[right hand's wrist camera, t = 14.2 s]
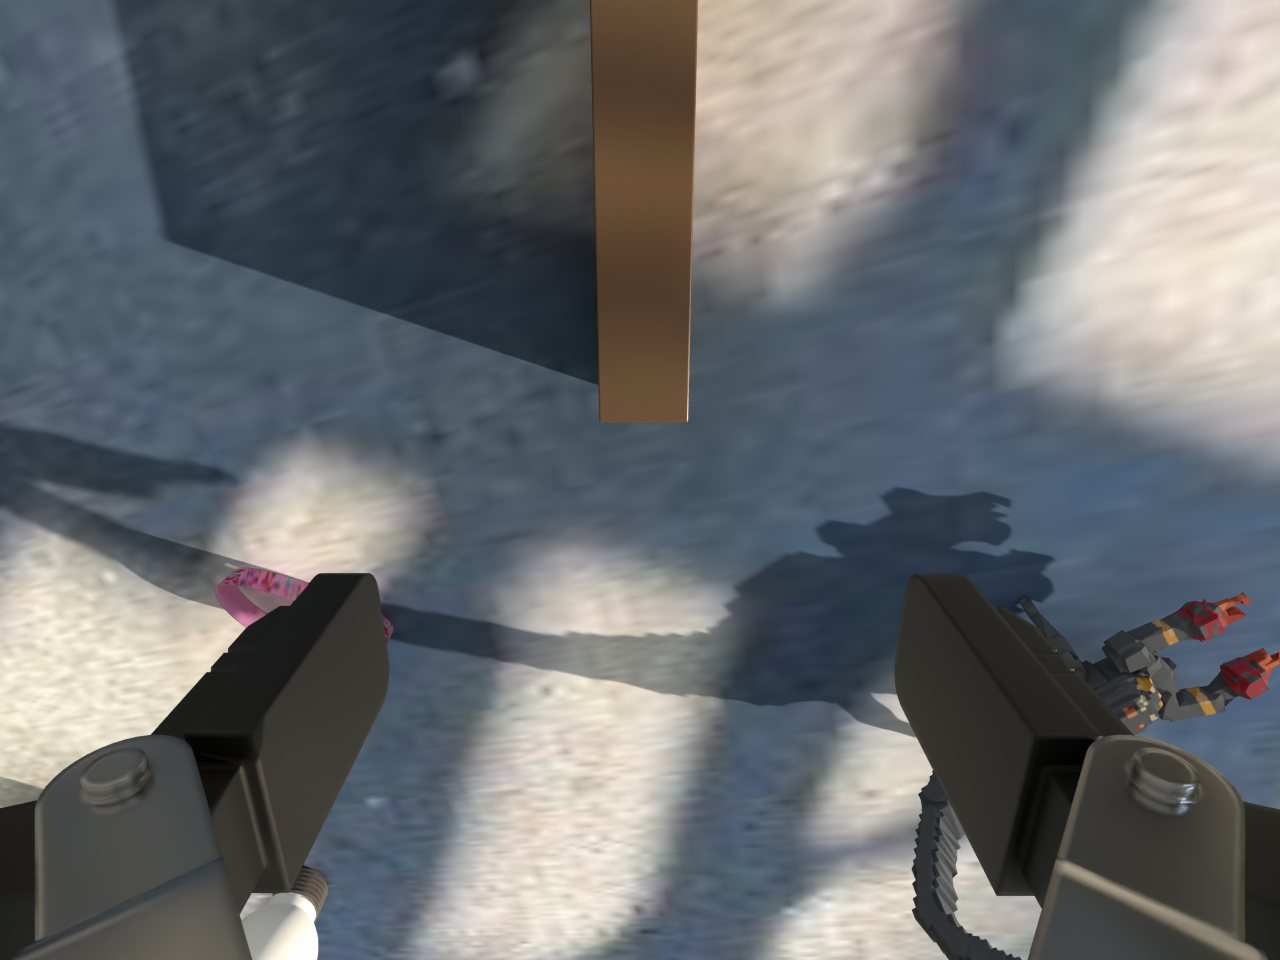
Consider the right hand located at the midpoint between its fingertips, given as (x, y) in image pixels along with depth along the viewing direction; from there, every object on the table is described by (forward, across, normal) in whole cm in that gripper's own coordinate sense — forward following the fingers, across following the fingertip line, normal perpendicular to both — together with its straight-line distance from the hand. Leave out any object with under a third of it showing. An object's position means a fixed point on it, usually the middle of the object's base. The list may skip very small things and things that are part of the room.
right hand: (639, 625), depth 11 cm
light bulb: (+33, +26, +45) cm, 62 cm away
